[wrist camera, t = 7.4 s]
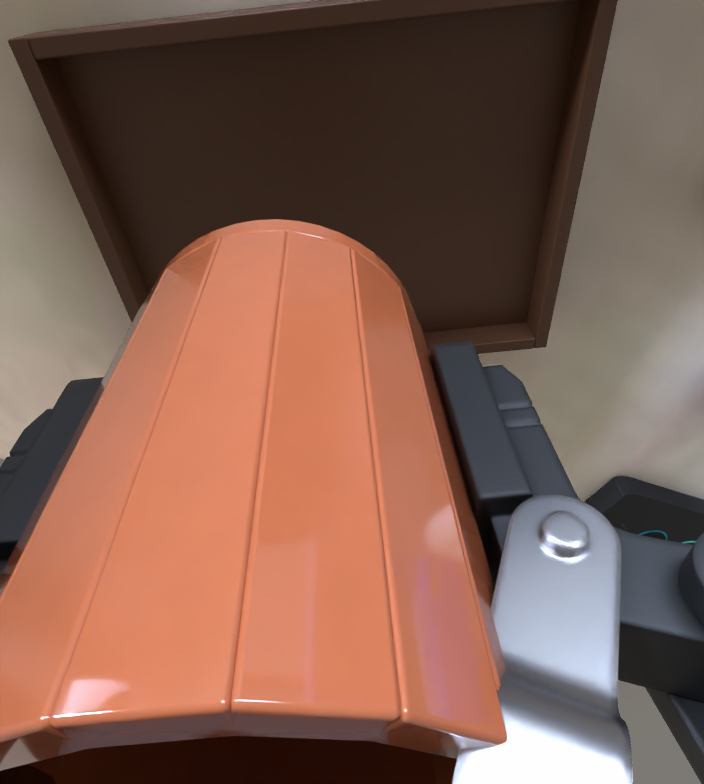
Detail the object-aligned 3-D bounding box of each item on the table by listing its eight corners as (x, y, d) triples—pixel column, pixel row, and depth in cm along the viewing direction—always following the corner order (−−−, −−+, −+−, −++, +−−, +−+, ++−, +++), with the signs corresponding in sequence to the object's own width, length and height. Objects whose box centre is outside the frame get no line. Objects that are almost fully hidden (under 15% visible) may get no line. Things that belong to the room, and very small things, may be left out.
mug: (98, 235, 9) (-328, 758, 3) (417, 201, 9) (614, 677, 3) (216, 508, 15) (144, 893, 9) (418, 489, 15) (489, 866, 8)
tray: (168, 360, 26) (159, 386, 25) (35, 32, 17) (6, 39, 16) (532, 323, 26) (546, 347, 25) (595, -31, 17) (624, -30, 15)
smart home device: (631, 492, 33) (820, 548, 39) (619, 472, 35) (803, 529, 41) (551, 556, 38) (730, 597, 44) (543, 536, 39) (718, 579, 45)
